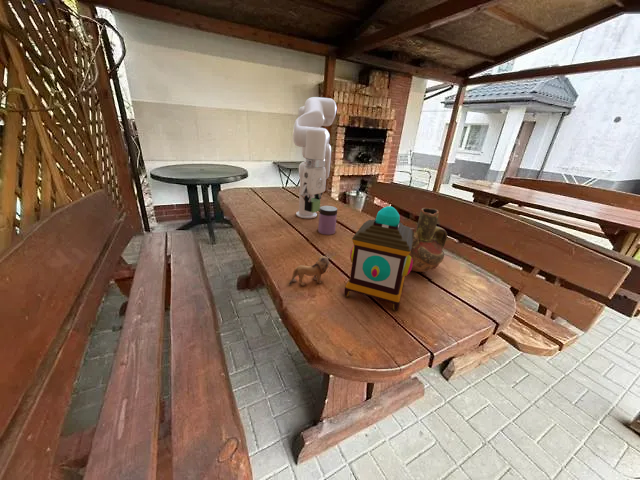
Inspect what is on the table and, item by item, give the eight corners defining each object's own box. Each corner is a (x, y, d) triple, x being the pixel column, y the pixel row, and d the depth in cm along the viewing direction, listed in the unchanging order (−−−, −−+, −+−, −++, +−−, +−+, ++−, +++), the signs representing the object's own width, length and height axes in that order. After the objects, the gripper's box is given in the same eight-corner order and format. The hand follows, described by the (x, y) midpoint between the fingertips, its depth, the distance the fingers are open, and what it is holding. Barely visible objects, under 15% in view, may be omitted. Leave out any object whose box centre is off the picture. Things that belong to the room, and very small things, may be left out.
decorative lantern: (338, 297, 85) (348, 208, 73) (354, 270, 102) (364, 194, 90) (401, 316, 78) (424, 222, 66) (407, 283, 95) (426, 204, 83)
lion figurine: (323, 274, 98) (325, 252, 94) (330, 281, 93) (332, 259, 90) (286, 281, 91) (286, 259, 88) (291, 290, 87) (292, 266, 83)
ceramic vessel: (375, 264, 107) (385, 205, 97) (420, 254, 119) (433, 201, 109) (405, 286, 93) (420, 221, 83) (453, 273, 105) (471, 213, 95)
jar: (324, 226, 143) (326, 205, 138) (338, 231, 138) (340, 209, 134) (314, 231, 137) (316, 209, 132) (328, 236, 132) (330, 213, 127)
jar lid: (326, 209, 139) (326, 204, 138) (340, 213, 134) (340, 208, 133) (315, 212, 132) (316, 207, 132) (330, 216, 128) (330, 212, 127)
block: (311, 208, 110) (311, 197, 108) (319, 210, 108) (320, 200, 106) (304, 210, 107) (304, 199, 105) (312, 212, 104) (313, 202, 102)
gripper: (308, 167, 91) (305, 216, 99) (335, 163, 104) (331, 207, 111) (292, 163, 95) (291, 211, 103) (320, 160, 108) (317, 203, 115)
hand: (312, 209), depth 107 cm, fingers closed on block, 4 cm apart
